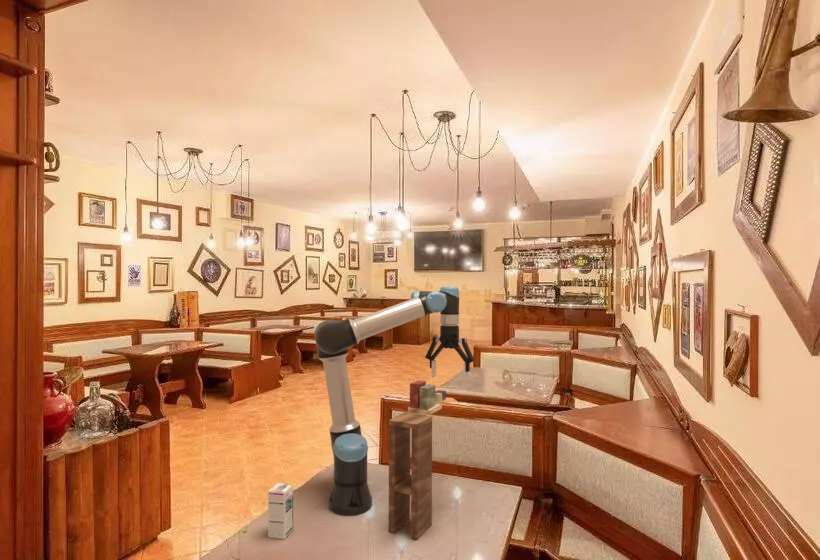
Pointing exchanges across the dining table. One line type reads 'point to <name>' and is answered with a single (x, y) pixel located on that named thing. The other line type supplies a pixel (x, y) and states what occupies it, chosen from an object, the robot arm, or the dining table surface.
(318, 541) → the dining table surface
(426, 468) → the walnut shelf
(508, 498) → the dining table surface
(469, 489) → the dining table surface
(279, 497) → the syrup box
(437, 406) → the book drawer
